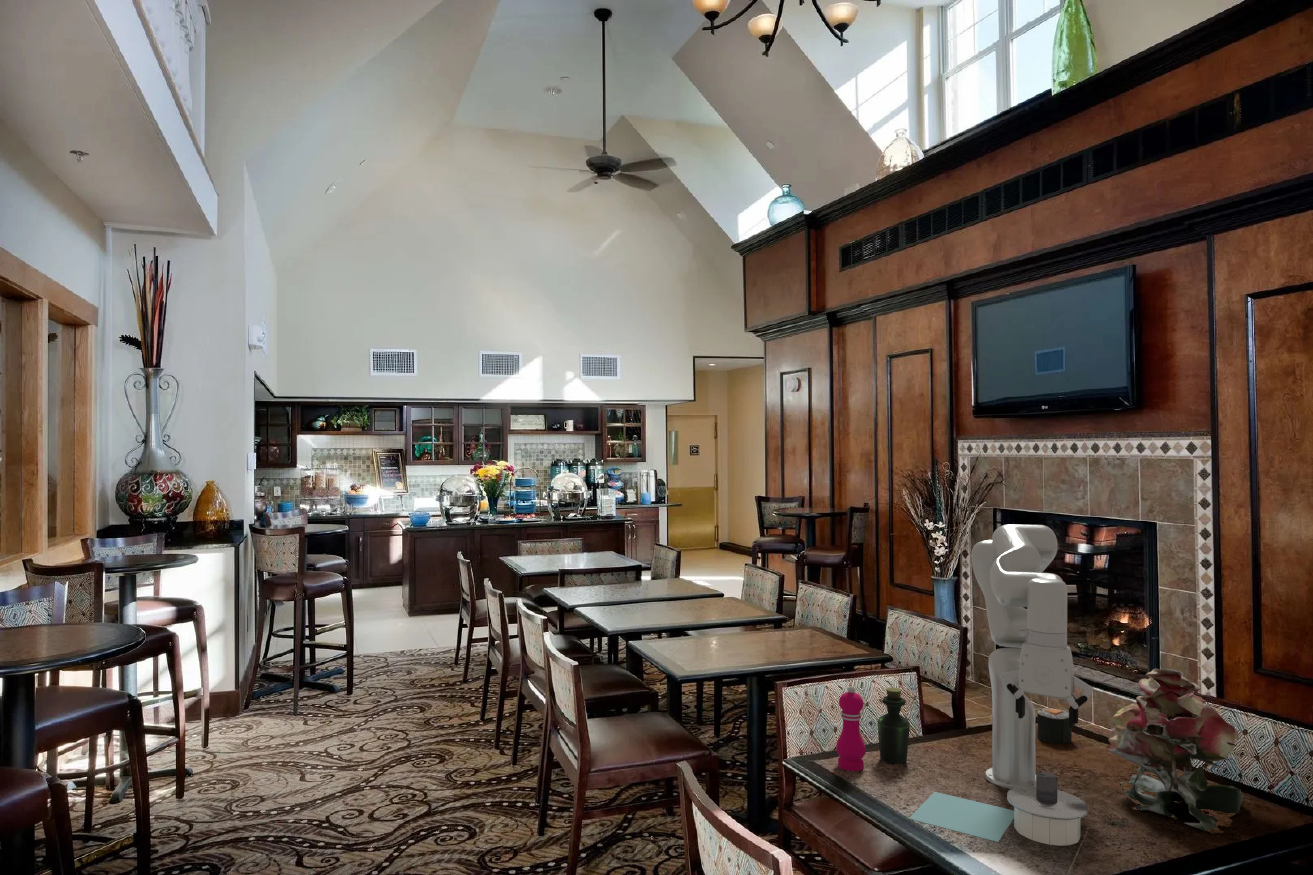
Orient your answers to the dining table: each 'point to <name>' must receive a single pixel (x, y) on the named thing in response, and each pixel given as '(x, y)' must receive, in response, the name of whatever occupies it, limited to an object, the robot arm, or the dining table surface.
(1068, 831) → the white faceted bowl
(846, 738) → the pepper mill
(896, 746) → the potion bottle
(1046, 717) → the sushi
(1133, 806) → the dining table surface
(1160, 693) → the rose bouquet
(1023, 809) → the metal lid
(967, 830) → the teal mat
